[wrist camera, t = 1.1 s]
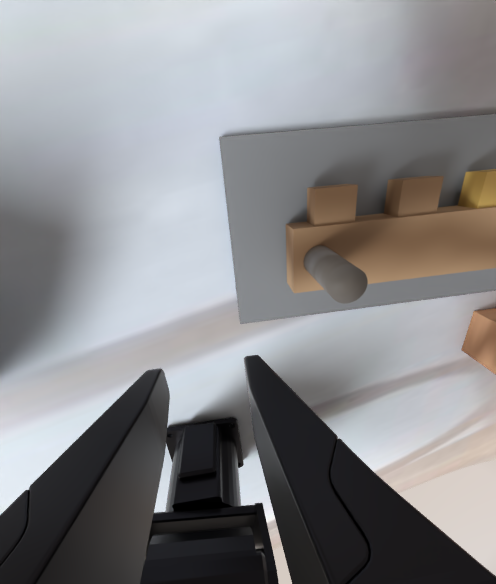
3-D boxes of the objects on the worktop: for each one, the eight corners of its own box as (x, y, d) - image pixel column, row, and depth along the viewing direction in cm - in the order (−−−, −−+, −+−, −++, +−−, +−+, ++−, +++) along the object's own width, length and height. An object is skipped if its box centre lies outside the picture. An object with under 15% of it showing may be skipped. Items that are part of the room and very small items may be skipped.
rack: (476, 259, 19) (575, 292, 14) (287, 282, 18) (316, 327, 13) (503, 168, 16) (637, 165, 11) (284, 189, 16) (319, 197, 10)
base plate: (544, 281, 21) (549, 283, 21) (239, 321, 20) (240, 323, 19) (619, 104, 16) (628, 102, 16) (219, 138, 15) (219, 137, 14)
